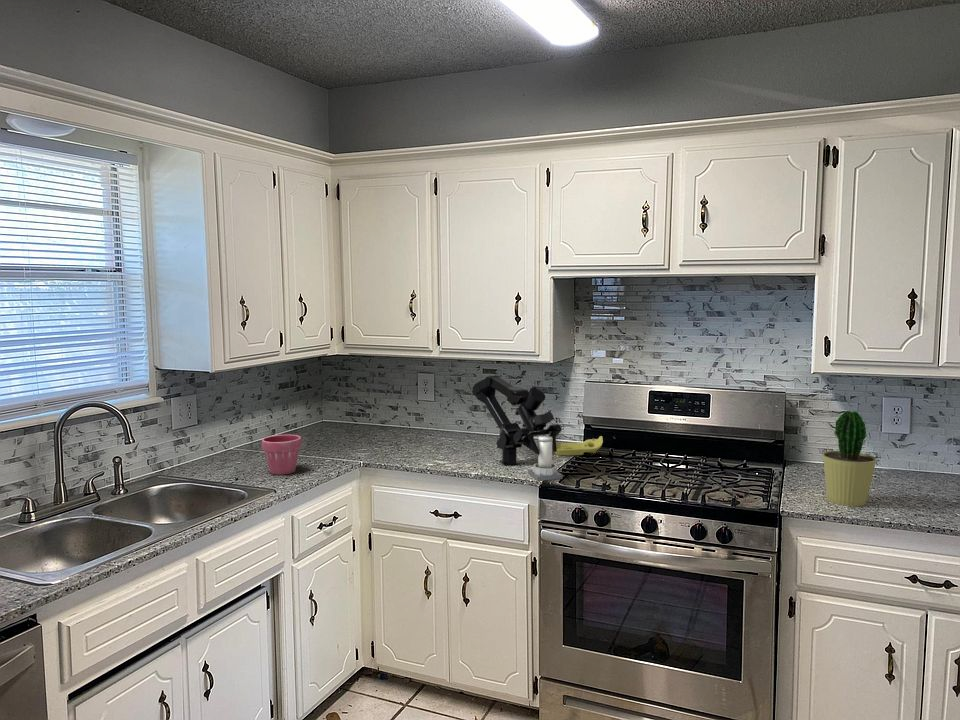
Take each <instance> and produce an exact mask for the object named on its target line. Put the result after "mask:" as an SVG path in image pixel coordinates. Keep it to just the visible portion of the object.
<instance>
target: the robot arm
mask: <svg viewBox="0 0 960 720" xmlns="http://www.w3.org/2000/svg"><path fill="white" fill-rule="evenodd" d="M496 391H497V392H499V393H501V394H502V395H503V396H505V397H506V401H507V402H508V403H509V404H511V405H512V406H518V405H519V406H518V407H516V411H515V413H514V415H515V416H519V417H520V418H521V420H522V423H523V424H522V427H523V428H521V427H520V426H519V423H517V422H511V421H510V419H509V418H508V416H507V414H506V413H505V411H504V409H503V408H502V406H501V404H500V403H499V401H498V399H497V398H496ZM472 393H473V395H474V397H475V398H476V399H477V400H478V401H480V403H483V404H484V405H485V406H486V408H487V410H488V412H489V413H490V415H491V417H492V418H493V421H495V423H496V425H497V427H498V429H499V438H498V440H497V441H496V442H495V443H496V448H497V449H499V450H501V460H500V459H499V460H498V462H499V463H500V464H501V465H502V466H511V465H520V464H521V463H520V462H519V461H518V460H517V458H518V457H517V454H518V452H517V451H518V450H517V449H519V448H522V447H523V446H525V447H526V448H527V449H529V450H530V451H532V452H533V453H535V454H536V455H537V456H538V455H539V454H540V452H539V449H538V444H537V443H536V441H535V439H534V438H535V437H539V436H551V437H552V438H553V441H552V452H553V453H555V452H556V451H557V447H556V443H557V436H558V435H560V433H561V432H562V430H563V429H562V427H561V425H560V424H559V423H555V424H551V423H552V421H553V420H554V415H553V413H552V411H547V412H545V413H541V414H537V412H536V411H537V410H538V409H539V408H540V407H541V405H542V404H543V402H544V401H545V400H546V395H545V393H544V392H543V391H542V390H540V389H537V387H536V386H535V387H530V389H529V391H528V389H526V388H522V387H518V386H514V385H512V384H510V383H509V382H507V381H505V380H504V379H503V378H501V377H500V376H499V375H488V376H486V377H485V378H484V379H482V380H480V381H478V382H476V383H475V384H473V387H472ZM548 423H550V425H549V426H548V427H547V424H548ZM546 427H547V428H546ZM544 428H546V429H544Z"/></svg>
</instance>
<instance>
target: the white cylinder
mask: <svg viewBox="0 0 960 720" xmlns="http://www.w3.org/2000/svg"><path fill="white" fill-rule="evenodd" d="M552 441H553V438H552V437H551V436H545V435H541V436H537V442H538V443H537V447H538V449H539V452H540V454H539V455H537V462H538V467H539V468H552V464H553V450H552Z"/></svg>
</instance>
